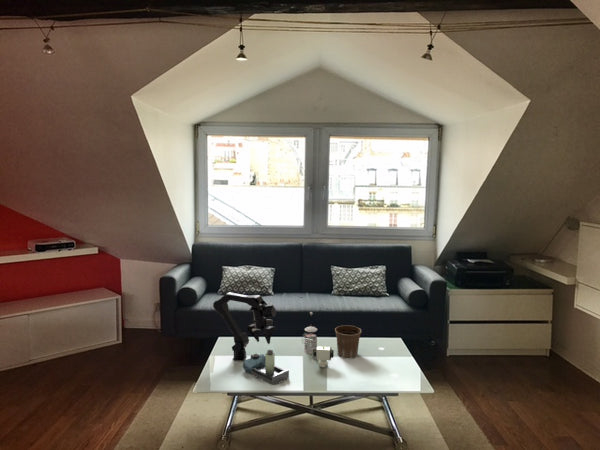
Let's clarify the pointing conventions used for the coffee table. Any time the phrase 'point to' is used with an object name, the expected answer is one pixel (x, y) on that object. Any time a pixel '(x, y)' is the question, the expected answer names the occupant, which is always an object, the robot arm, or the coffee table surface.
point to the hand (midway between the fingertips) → (263, 342)
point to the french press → (313, 342)
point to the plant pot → (347, 341)
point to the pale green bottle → (269, 362)
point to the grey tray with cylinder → (258, 370)
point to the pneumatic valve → (323, 355)
